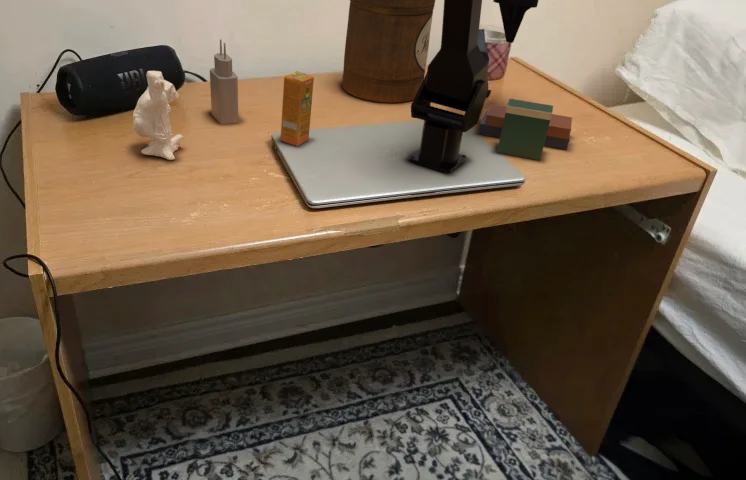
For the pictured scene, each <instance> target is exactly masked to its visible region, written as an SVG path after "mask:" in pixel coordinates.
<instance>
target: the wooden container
mask: <svg viewBox="0 0 746 480" xmlns="http://www.w3.org/2000/svg"><path fill="white" fill-rule="evenodd" d="M435 3H436V0H349V7H348V17H347V26H346V36H345V45H344V54H343V55H344V56H343V70H342V82H341V83H342V88H343V89H344V91H345V92H346V93H348V94H349V95H352V96H354V97H356V98H358V99H362V100H366V101H371V102H378V103H389V104H391V103H405V102H409V101H413V100H414V98H415V96H416V94H417V92H418V90H419V88H420V86H421V84H422V82H423V80H424V78H425V75H426V74H425V73H426V70H427V68H426V67H427V62H428V54H429V49H430V48H429V47H430V38H431V29H432V23H433V15H434V9H435V5H436V4H435Z"/></svg>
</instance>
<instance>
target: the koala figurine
mask: <svg viewBox="0 0 746 480" xmlns="http://www.w3.org/2000/svg"><path fill="white" fill-rule="evenodd" d="M146 81H147V87H146V90H145V91H144V92H143V93H142V94H141V96H140V97H138V100H137V103H136V105H135V108H134V110H133V113H132V127H133V130H134V131H135V133H136V134H137V136H139V137H141V138H149V139H152V140H151V141H149V142H148V144H147V146H146V147H144V148H142V149H141V154H143V155H147V156H155V157H161V158H164V159H166V160H168V161H173V160H175V159H176V158H175V156H174V153H175V151H178V150H179V146H180V144H181V143H182V141H183V140H184V135H182V134H180V133H177V134H176V135H174V136H173V131H172V127H171V120H170V115H171V114H172V108H171V105H170V103H173V102H175V101H178V99H179V97H180V95H179V93H178V92H177V90H176V87H175V85H174V84H173V83H171V82H170V81H168V80H166V79H164V76H163V72H162V71H159V70H148V71H147V72H146Z"/></svg>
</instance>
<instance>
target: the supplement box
mask: <svg viewBox="0 0 746 480" xmlns="http://www.w3.org/2000/svg"><path fill="white" fill-rule="evenodd" d="M314 81H315V77H314V76H312V75H310V74H308V73H305V72H301V71H298V70H297V71H294V72H293V73H290V74H286V75H284V77H283V90H282V106H281V123H280V124H281V125H280V141H282V142H284V143H286V144H290V145H293V146H295V147H296V146H297V147H299V146H300V145H302V144H304V143H305V142H308V141H309V139H310V126H311V117H312V106H313V105H312V103H313V91H314Z"/></svg>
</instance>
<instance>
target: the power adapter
mask: <svg viewBox="0 0 746 480" xmlns="http://www.w3.org/2000/svg"><path fill="white" fill-rule="evenodd" d="M222 41H223V40H222V39H221V38H220V39H219V52H217V53H215V54H213V61H214V62H213V63H214V67H212V68H209V86H210V87H209V88H210V108H211V109H210V110H211V115H212V116H213V118H215V120H216V121H217V122H218V124H221V125H228V124H229V125H230V124H236V123H239V82H238V79H239V77H238V75H237V74H236V73H235V72H234V71H233V58H232V57H230V56H229V55H228V54H227V48H226V47H227V46H226V42H222ZM222 43H223V44H222Z"/></svg>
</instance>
